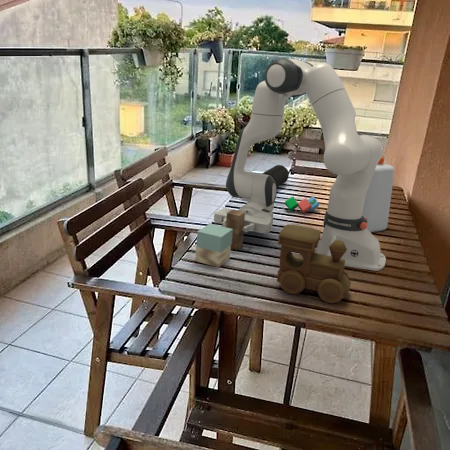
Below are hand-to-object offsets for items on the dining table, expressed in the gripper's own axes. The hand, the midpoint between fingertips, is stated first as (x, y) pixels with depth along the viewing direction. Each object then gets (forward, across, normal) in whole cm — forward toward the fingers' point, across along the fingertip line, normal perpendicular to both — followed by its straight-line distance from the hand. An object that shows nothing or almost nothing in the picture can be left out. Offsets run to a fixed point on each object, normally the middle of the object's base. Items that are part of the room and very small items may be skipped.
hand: (233, 227), depth 146 cm
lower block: (+12, -1, +7) cm, 14 cm away
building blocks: (-52, +9, +7) cm, 53 cm away
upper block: (+12, -1, +2) cm, 12 cm away
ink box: (-53, -14, +7) cm, 55 cm away
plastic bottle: (-49, +35, +7) cm, 61 cm away
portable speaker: (-78, -14, +7) cm, 80 cm away
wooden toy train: (+15, +31, +7) cm, 35 cm away
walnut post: (-1, 0, +7) cm, 7 cm away
